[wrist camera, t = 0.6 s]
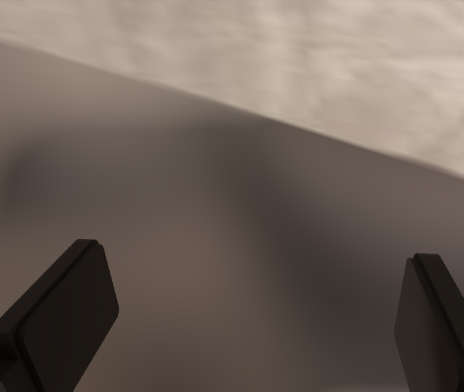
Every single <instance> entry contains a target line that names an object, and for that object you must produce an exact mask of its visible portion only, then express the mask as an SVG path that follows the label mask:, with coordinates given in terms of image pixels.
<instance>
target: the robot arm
mask: <svg viewBox="0 0 464 392" xmlns="http://www.w3.org/2000/svg"><path fill="white" fill-rule="evenodd" d="M118 313H119V305H118V302H117V298H116V294H115V290H114V287H113V282H112V279H111V275H110V271H109V267H108V263H107V260H106V255H105V252H104V248H103V246H102V245H101V244H99V243H98V241H97V240H91V239H78V240H76V241H75V242H74V243H73V244H72V245H71V246H70V247H69V248H68V249H67V250H66V251H65V252H64V253H63V254H62V255H61V256H60V257H59V258H58V259H57V260H56V262H54V264H52V265H51V266H50V268H49V269H48V270H47V271H46V272H45V273H44V274H43V275H42V276H41V277H40V278H39V279H38V280H37V281H36V282H35V283H34V284H33V285H32V286H31V287H30V288H29V289H28V290H27V291H26V292H25V293H24V294H23V295H22V296H21V297H20V298H19V299H18V300H17V301H16V302H15V303H14V304H13V305H12V307H10V308H9V310H7V311H6V313H5V314H4V315H3V316H2V317H1V318H0V392H73V391H74V389H75V387H76V385H77V384H78V382H79V381H80V379H81V377H82V376H83V374H84V372H85V370H86V369H87V367H88V365H89V364H90V362H91V360H92V359H93V357H94V355H95V354H96V352H97V350H98V349H99V347H100V345H101V344H102V342H103V340H104V339H105V337H106V335H107V334H108V332H109V330H110V329H111V327H112V325H113V324H114V322H115V320H116V319H117V317H118ZM394 335H395V341H396V345H397V348H398V351H399V355H400V359H401V362H402V366H403V369H404V373H405V376H406V380H407V383H408V387H409V390H410V392H464V298H463V296H462V295H461V292H460V291H459V289H458V287H457V285H456V284H455V282H454V280H453V278H452V277H451V275H450V273H449V271H448V270H447V268H446V266H445V264H444V263H443V261H442V259H441V257H440V256H439V255H438V254H425V253H424V254H423V253H416V254H415V255H414V257H413V258H408V259H407V261H406V267H405V273H404V278H403V283H402V289H401V294H400V300H399V306H398V311H397V317H396V322H395V328H394Z"/></svg>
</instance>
